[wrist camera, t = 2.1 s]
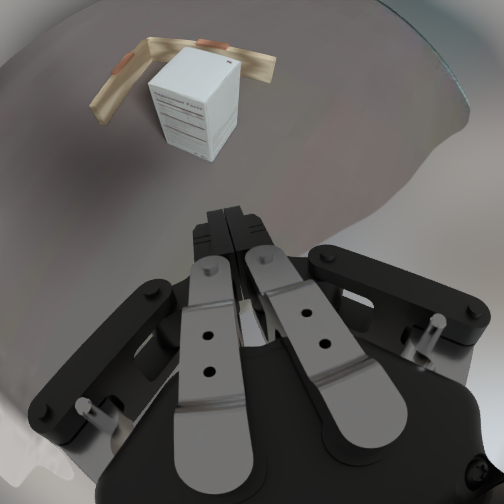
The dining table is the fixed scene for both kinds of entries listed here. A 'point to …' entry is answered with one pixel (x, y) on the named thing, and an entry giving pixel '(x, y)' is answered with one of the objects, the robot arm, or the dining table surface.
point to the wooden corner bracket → (165, 51)
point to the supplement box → (197, 100)
